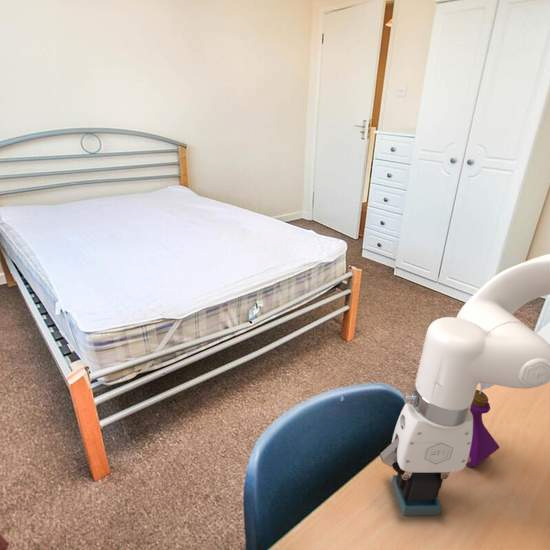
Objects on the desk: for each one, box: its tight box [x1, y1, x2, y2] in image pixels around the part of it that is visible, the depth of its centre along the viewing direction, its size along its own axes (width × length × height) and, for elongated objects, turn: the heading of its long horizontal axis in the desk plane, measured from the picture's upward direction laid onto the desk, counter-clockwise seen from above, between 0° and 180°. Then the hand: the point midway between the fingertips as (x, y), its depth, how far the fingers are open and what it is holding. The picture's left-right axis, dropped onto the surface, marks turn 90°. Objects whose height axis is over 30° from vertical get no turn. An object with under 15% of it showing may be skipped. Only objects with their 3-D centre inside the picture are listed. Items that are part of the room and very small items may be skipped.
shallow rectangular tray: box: [391, 474, 442, 517], centre depth 62 cm, size 6×6×2 cm
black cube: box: [408, 472, 438, 501], centre depth 61 cm, size 4×4×4 cm
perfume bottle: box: [465, 383, 500, 468], centre depth 67 cm, size 8×8×18 cm
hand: (416, 488), depth 61 cm, fingers closed on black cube, 4 cm apart
